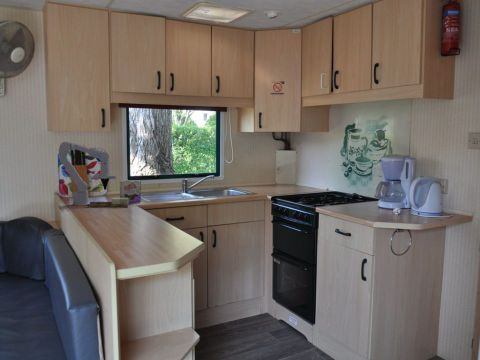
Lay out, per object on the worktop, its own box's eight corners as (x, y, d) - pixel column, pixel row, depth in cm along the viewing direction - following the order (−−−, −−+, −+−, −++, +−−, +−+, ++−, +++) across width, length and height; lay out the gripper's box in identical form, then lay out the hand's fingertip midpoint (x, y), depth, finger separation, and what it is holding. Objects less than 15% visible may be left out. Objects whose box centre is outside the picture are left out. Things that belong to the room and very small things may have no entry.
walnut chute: (87, 209, 273) (87, 204, 273) (90, 206, 286) (90, 201, 286) (127, 209, 278) (127, 204, 278) (129, 206, 291) (129, 201, 290)
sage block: (119, 206, 280) (119, 199, 280) (120, 205, 286) (120, 197, 286) (127, 206, 281) (127, 199, 281) (128, 205, 287) (128, 197, 286)
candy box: (120, 204, 297) (120, 180, 296) (120, 203, 303) (120, 180, 301) (140, 204, 301) (140, 180, 299) (140, 203, 306) (140, 180, 305)
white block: (111, 206, 279) (111, 198, 279) (112, 205, 285) (112, 197, 285) (119, 206, 280) (119, 199, 280) (120, 205, 286) (120, 197, 286)
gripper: (92, 170, 287) (93, 190, 289) (115, 170, 290) (115, 190, 291) (94, 169, 294) (94, 189, 296) (116, 169, 297) (116, 188, 298)
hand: (105, 189), depth 294 cm, fingers closed
